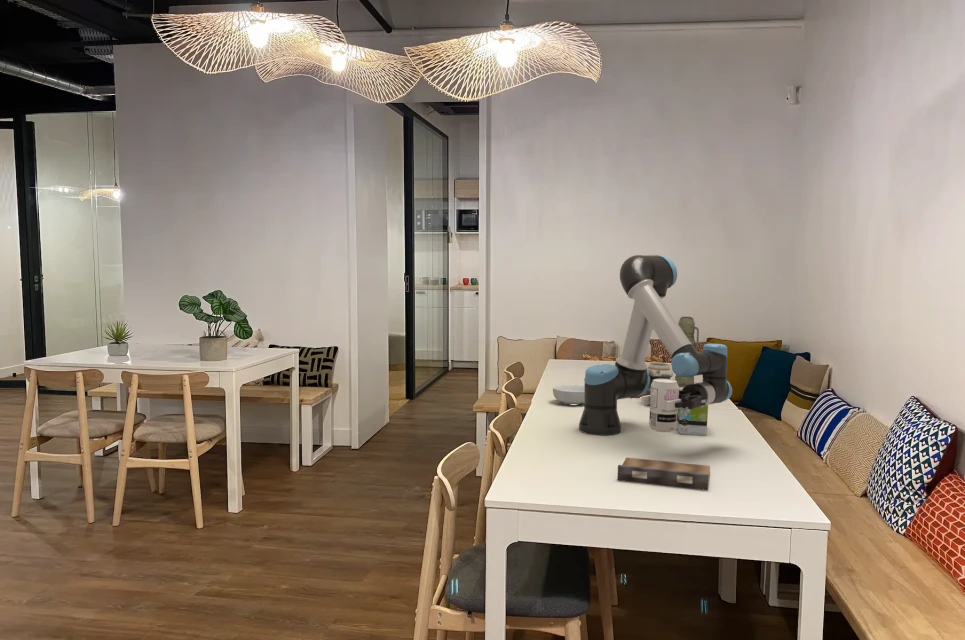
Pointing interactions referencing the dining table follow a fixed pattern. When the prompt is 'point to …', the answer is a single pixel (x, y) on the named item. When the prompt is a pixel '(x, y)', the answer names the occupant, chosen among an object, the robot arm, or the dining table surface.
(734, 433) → the dining table surface
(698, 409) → the tea box
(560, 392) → the cereal bowl
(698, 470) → the shelf
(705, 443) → the dining table surface
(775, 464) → the dining table surface
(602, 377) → the robot arm
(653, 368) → the apothecary jar
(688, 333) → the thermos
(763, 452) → the dining table surface
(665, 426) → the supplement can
